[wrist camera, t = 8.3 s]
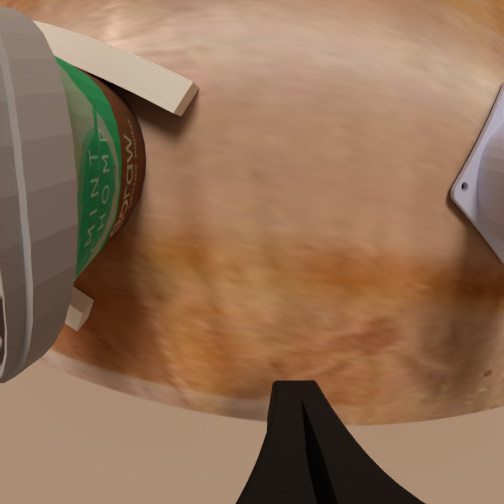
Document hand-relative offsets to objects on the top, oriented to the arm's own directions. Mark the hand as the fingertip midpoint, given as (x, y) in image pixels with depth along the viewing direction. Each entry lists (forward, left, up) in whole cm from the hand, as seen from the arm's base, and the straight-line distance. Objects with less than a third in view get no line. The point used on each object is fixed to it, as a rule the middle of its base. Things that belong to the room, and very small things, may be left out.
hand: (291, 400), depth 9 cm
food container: (-2, -11, -7) cm, 13 cm away
